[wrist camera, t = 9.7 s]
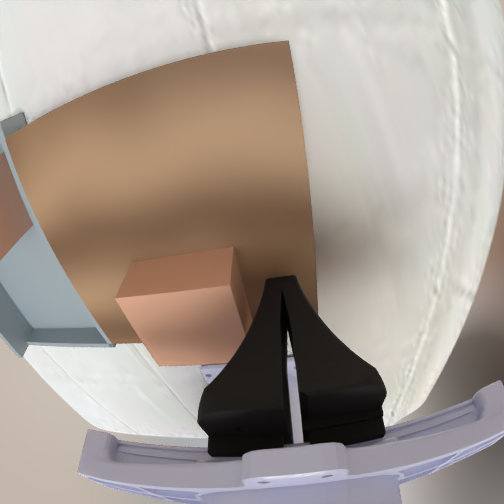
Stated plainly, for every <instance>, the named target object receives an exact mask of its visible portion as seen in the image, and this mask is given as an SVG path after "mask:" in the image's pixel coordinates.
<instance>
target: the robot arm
mask: <svg viewBox="0 0 504 504" xmlns="http://www.w3.org/2000/svg"><path fill="white" fill-rule="evenodd" d="M287 328H288V333H289V337H290V342H291V347H292V351H293V356H294V357H290V358H287ZM201 373H202V375H203V377H204V378H205V380H206V382H207V383H208V386H207V387H206V388H205V389H204V391H203V394H202V397H201V400H200V404H199V410H198V420H197V422H198V424H199V426H200V427H201V428H202V429H203V430H204V431H205V432H206V434H207V435H208V436H209V438H208V448H199V447H197V448H196V447H177V446H163V445H153V444H144V443H135V442H128V441H122V440H118V439H117V438H116V437H115V436H113V435H111V434H109V433H106V432H100V431H95V430H88V432H87V435H86V439H85V443H84V446H83V450H82V455H81V459H80V463H79V467H78V474H80V475H82V476H84V477H86V478H88V479H90V480H92V481H94V482H96V483H98V484H101V485H103V486H105V487H108V488H112V489H116V490H120V491H124V492H128V493H132V494H137V495H142V496H147V497H151V498H157V499H162V500H168V501H174V502H180V503H186V504H402V501H401V495H400V489H399V485H400V484H403V483H406V482H409V481H412V480H414V479H417V478H420V477H422V476H425V475H428V474H430V473H433V472H435V471H437V470H440V469H442V468H445V467H447V466H449V465H451V464H454V463H456V462H458V461H460V460H462V459H464V458H466V457H468V456H470V455H473V454H475V453H477V452H478V451H480V450H483V449H484V448H486V447H488V446H490V445H492V444H494V443H495V442H496V441H498V440H499V439H500V438H501V437H503V436H504V387H503V384H502V382H501V381H497V382H495V383H492V384H490V385H488V386H486V387H484V388H482V389H480V390H479V391H478V392H477V393H476V394H475V395H474V397H473V398H472V399H470V400H467V401H465V402H463V403H460V404H458V405H455V406H452V407H450V408H447V409H444V410H441V411H438V412H436V413H433V414H430V415H427V416H424V417H420V418H417V419H414V420H411V421H407V422H404V423H400V424H397V425H393V426H389V427H385V426H384V422H383V418H382V417H383V410H382V404H383V402H384V400H385V397H386V394H387V391H386V387H385V385H384V383H383V380H382V378H381V377H380V375H379V373H378V371H377V370H376V368H374V367H373V366H371V365H370V364H368V363H367V362H366V361H364V360H363V359H361V358H360V357H359V356H358V355H356V354H355V353H354V352H353V351H351V350H350V349H349V348H348V347H347V346H346V345H345V344H344V343H343V342H342V341H340V340H339V339H338V338H337V337H336V336H335V335H334V333H333V332H332V331H331V330H330V329H329V328H328V327H327V326H326V325H325V323H324V322H323V321H322V320H321V318H320V317H319V316H318V314H317V313H316V312H315V310H314V309H313V307H312V306H311V304H310V303H309V301H308V300H307V298H306V296H305V295H304V293H303V291H302V289H301V287H300V285H299V283H298V280H297V277H296V276H295V275H290V276H283V277H276V278H268V279H267V280H266V281H265V286H264V291H263V295H262V298H261V301H260V304H259V307H258V310H257V312H256V315H255V317H254V319H253V322H252V324H251V326H250V328H249V330H248V332H247V334H246V336H245V338H244V339H243V341H242V343H241V345H240V346H239V348H238V349H237V351H236V352H235V354H234V355H233V357H232V358H231V359H230V361H229V362H228V363H227V364H219V365H205V366H202V367H201Z"/></svg>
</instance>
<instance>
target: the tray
mask: <svg viewBox="0 0 504 504" xmlns="http://www.w3.org/2000/svg"><path fill="white" fill-rule="evenodd" d="M26 125H27V124H26V120H25V117H24V114H23V112H22V113H20V114H17V115H15V116H13V117H10V118H8V119H5V120H3V121H1V122H0V154H1V153H3V152H5V155H6V158H7V161H8V163H9V166H10V169H11V171H12V174H13V177H14V179H15V182H16V185H17V187H18V190H19V193H20V195H21V198H22V200H23V203H24V205H25V207H26V210H27V212H28V214H29V217H30V219H31V221H32V223H33V226H32V227H31V228H30V229H29V230H28V231H27V232H26V233H25V234H24V235H23V236H22V237H21V238H20V239H19V241H18V242H17V243H16V244H15V245H14V246H13V247H12V248H11V249H10V251H9V252H8V253H7V254H6V255H5V256H4V257H3V259H2V260H1V261H0V337H1V338H2V339H3V340H4V342H5V343H6V344H7V345H8V346H9V347H10V348H11V350H12V351H13V352H14V353H15V354H16V355H17V356H18V357H20V358H22V357H23V355H24V353H25V351H26V349H27V347H28V345H40V346H62V347H115V346H116V344H112V343H111V342H110V340H109V339H108V337H107V336H106V335H105V333H104V332H103V330H102V329H101V328H100V326H99V325H98V323H97V322H96V320H95V319H94V318H93V316H92V315H91V313H90V312H89V310H88V309H87V307H86V306H85V304H84V302H83V301H82V299H81V298H80V296H79V295H78V293H77V291H76V290H75V288H74V287H73V285H72V283H71V282H70V280H69V278H68V277H67V275H66V273H65V271H64V270H63V268H62V266H61V264H60V263H59V261H58V259H57V257H56V256H55V254H54V252H53V250H52V248H51V246H50V244H49V242H48V241H47V239H46V237H45V235H44V233H43V231H42V229H41V227H40V225H39V223H38V220H37V218H36V216H35V214H34V212H33V210H32V208H31V205H30V203H29V201H28V199H27V196H26V194H25V192H24V189H23V187H22V184H21V182H20V180H19V177H18V174H17V172H16V169H15V167H14V164H13V161H12V158H11V156H10V153H9V150H8V147H7V144H6V141H5V138H7V137H8V136H10V135H11V134H13V133H15V132H16V131H18V130H19V129H21V128H23V127H24V126H26Z"/></svg>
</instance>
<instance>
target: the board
mask: <svg viewBox="0 0 504 504" xmlns="http://www.w3.org/2000/svg"><path fill="white" fill-rule="evenodd" d="M5 141H6V144H7V147H8V150H9V153H10V156H11V158H12V161H13V164H14V167H15V169H16V172H17V174H18V177H19V180H20V182H21V184H22V187H23V189H24V192H25V194H26V196H27V199H28V201H29V203H30V205H31V208H32V210H33V212H34V214H35V216H36V218H37V220H38V223H39V225H40V227H41V229H42V231H43V233H44V235H45V237H46V239H47V241H48V242H49V244H50V246H51V248H52V250H53V252H54V254H55V256H56V257H57V259H58V261H59V263H60V264H61V266H62V268H63V270H64V271H65V273H66V275H67V277H68V278H69V280H70V282H71V283H72V285H73V287H74V288H75V290H76V291H77V293H78V295H79V296H80V298H81V299H82V301H83V302H84V304H85V306H86V307H87V309H88V310H89V312H90V313H91V315H92V316H93V318H94V319H95V320H96V322H97V323H98V325H99V326H100V328H101V329H102V330H103V332H104V333H105V335H106V336H107V337H108V339H109V340H110V342H111V343H112V344H121V343H143V342H142V341H141V339H140V338H139V336H138V335H137V333H136V332H135V330H134V329H133V327H132V325H131V324H130V322H129V321H128V319H127V317H126V316H125V314H124V313H123V311H122V309H121V308H120V306H119V304H118V303H117V301H116V299H115V297H116V295H117V293H118V291H119V288H120V286H121V284H122V282H123V280H124V278H125V276H126V274H127V272H128V269H129V267H130V265H131V263H132V262H138V261H144V260H151V259H157V258H164V257H170V256H177V255H183V254H190V253H197V252H203V251H210V250H216V249H223V248H230V247H233V248H234V252H235V255H236V259H237V263H238V267H239V271H240V275H241V279H242V282H243V286H244V290H245V294H246V298H247V301H248V305H249V309H250V313H251V316H252V320H253V319H254V317H255V315H256V312H257V310H258V307H259V304H260V301H261V298H262V295H263V291H264V286H265V281H266V280H267V279H268V278H276V277H283V276H290V275H295V276H296V277H297V280H298V283H299V285H300V287H301V289H302V291H303V293H304V295H305V296H306V298H307V300H308V301H309V303H310V304H311V306H312V307H313V309H314V310H315V312H316V313H317V314H318V300H317V279H316V262H315V247H314V234H313V221H312V210H311V199H310V189H309V179H308V170H307V161H306V152H305V144H304V136H303V128H302V121H301V114H300V107H299V100H298V93H297V87H296V81H295V75H294V69H293V63H292V57H291V51H290V46H289V41H280V42H272V43H264V44H257V45H251V46H245V47H239V48H233V49H228V50H223V51H218V52H214V53H209V54H205V55H200V56H196V57H192V58H188V59H185V60H181V61H177V62H174V63H170V64H167V65H164V66H160V67H157V68H154V69H151V70H148V71H145V72H142V73H139V74H136V75H133V76H130V77H128V78H125V79H122V80H120V81H117V82H114V83H112V84H109V85H107V86H105V87H102V88H100V89H97V90H95V91H93V92H90V93H88V94H86V95H84V96H82V97H79V98H77V99H75V100H73V101H71V102H69V103H67V104H65V105H63V106H61V107H59V108H57V109H55V110H53V111H51V112H49V113H47V114H46V115H44V116H42V117H40V118H38V119H36V120H35V121H33V122H31V123H30V124H28V125H26V126H24V127H23V128H21V129H19V130H18V131H16V132H15V133H13V134H11V135H10V136H8V137H7V138H5ZM287 331H288V328H287Z"/></svg>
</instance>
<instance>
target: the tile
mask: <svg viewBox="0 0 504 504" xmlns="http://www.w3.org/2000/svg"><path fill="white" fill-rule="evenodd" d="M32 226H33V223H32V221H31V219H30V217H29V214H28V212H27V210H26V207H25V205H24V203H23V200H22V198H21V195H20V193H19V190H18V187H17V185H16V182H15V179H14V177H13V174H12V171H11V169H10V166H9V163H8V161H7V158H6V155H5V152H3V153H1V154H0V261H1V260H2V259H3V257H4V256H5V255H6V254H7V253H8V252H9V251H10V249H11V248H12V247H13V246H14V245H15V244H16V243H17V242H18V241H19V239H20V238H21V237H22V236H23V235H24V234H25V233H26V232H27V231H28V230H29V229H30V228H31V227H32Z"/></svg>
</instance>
